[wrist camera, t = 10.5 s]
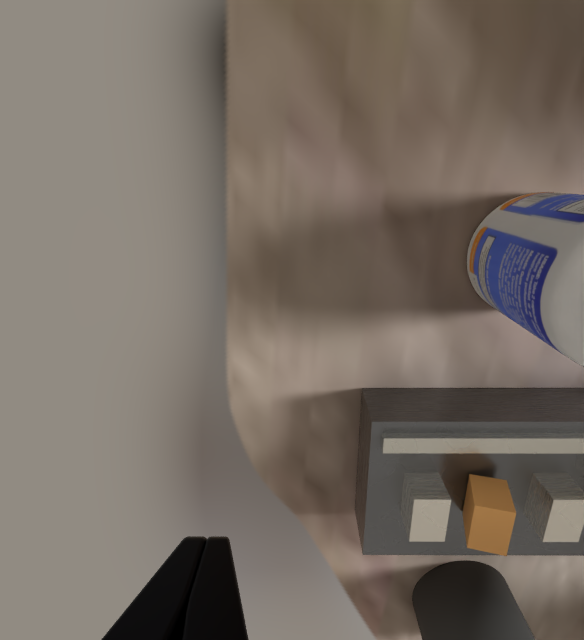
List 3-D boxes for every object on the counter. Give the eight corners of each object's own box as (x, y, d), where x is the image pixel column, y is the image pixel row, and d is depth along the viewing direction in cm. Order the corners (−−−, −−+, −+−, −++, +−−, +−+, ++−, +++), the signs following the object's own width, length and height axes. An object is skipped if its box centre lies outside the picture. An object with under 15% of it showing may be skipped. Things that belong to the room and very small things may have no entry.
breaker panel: (635, 388, 21) (724, 445, 17) (597, 510, 24) (665, 587, 20) (362, 388, 21) (379, 445, 17) (354, 509, 24) (368, 585, 20)
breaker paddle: (506, 480, 19) (516, 512, 17) (497, 520, 20) (506, 556, 18) (469, 473, 19) (474, 505, 18) (462, 513, 20) (467, 547, 18)
